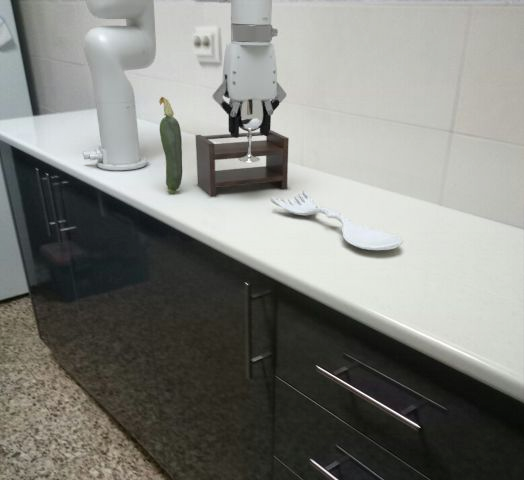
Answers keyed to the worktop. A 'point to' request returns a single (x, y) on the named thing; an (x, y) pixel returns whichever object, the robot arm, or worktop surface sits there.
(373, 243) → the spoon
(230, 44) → the robot arm
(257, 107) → the wineglass
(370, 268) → the worktop surface
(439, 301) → the worktop surface
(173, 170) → the vegetable
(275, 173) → the rack
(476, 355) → the worktop surface
